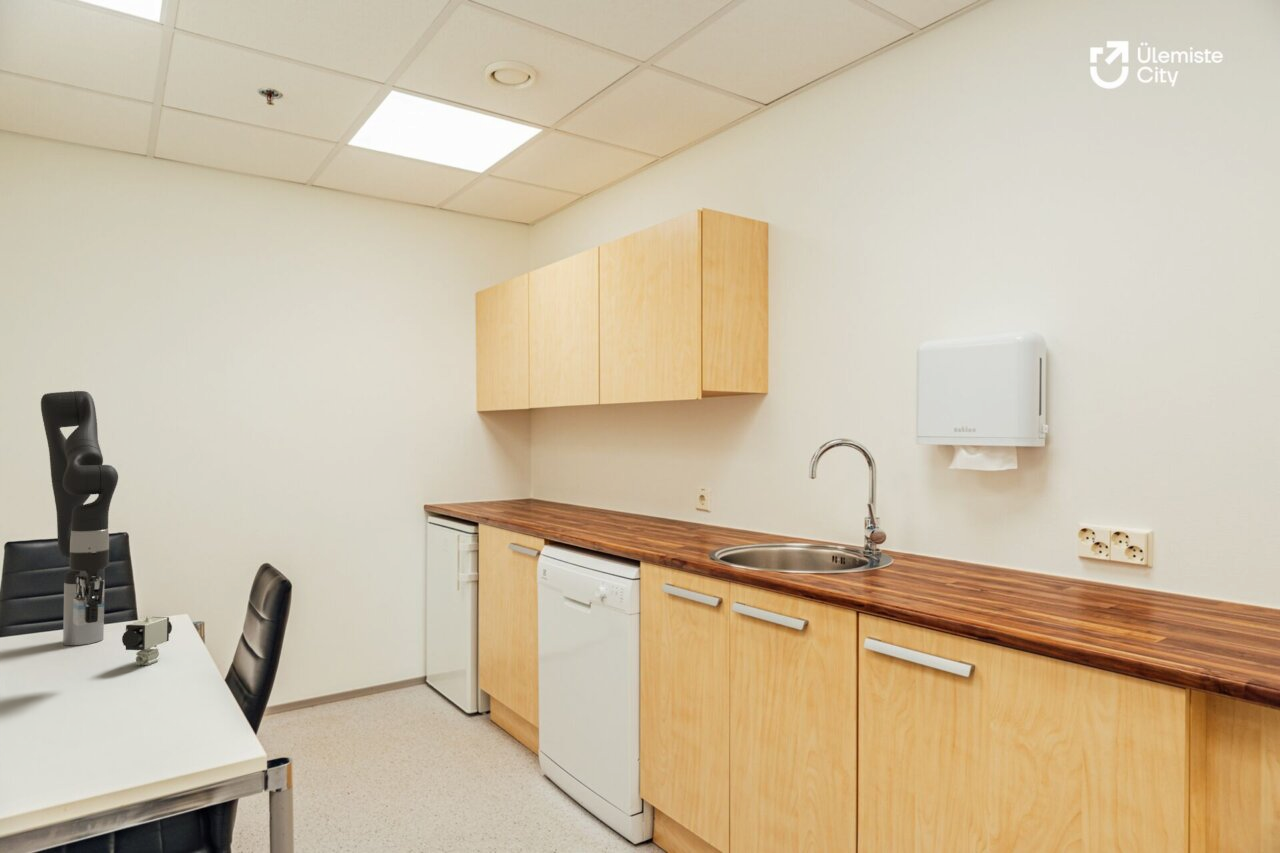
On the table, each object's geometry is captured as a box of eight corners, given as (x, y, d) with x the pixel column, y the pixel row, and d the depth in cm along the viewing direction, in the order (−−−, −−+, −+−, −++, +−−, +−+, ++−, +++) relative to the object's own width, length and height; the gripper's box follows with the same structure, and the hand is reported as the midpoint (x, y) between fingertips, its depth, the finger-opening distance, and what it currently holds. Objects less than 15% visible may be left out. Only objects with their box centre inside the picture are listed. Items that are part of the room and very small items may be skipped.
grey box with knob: (72, 623, 174) (73, 593, 174) (98, 619, 178) (99, 590, 178) (77, 626, 171) (78, 596, 171) (104, 622, 175) (104, 592, 175)
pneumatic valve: (172, 657, 195) (173, 611, 195) (138, 670, 183) (138, 622, 184) (153, 656, 196) (153, 611, 196) (117, 670, 184) (118, 622, 184)
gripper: (62, 547, 177) (61, 618, 176) (78, 553, 167) (77, 628, 167) (100, 544, 182) (99, 612, 182) (117, 550, 173) (116, 622, 173)
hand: (88, 620), depth 175 cm, fingers closed on grey box with knob, 4 cm apart
